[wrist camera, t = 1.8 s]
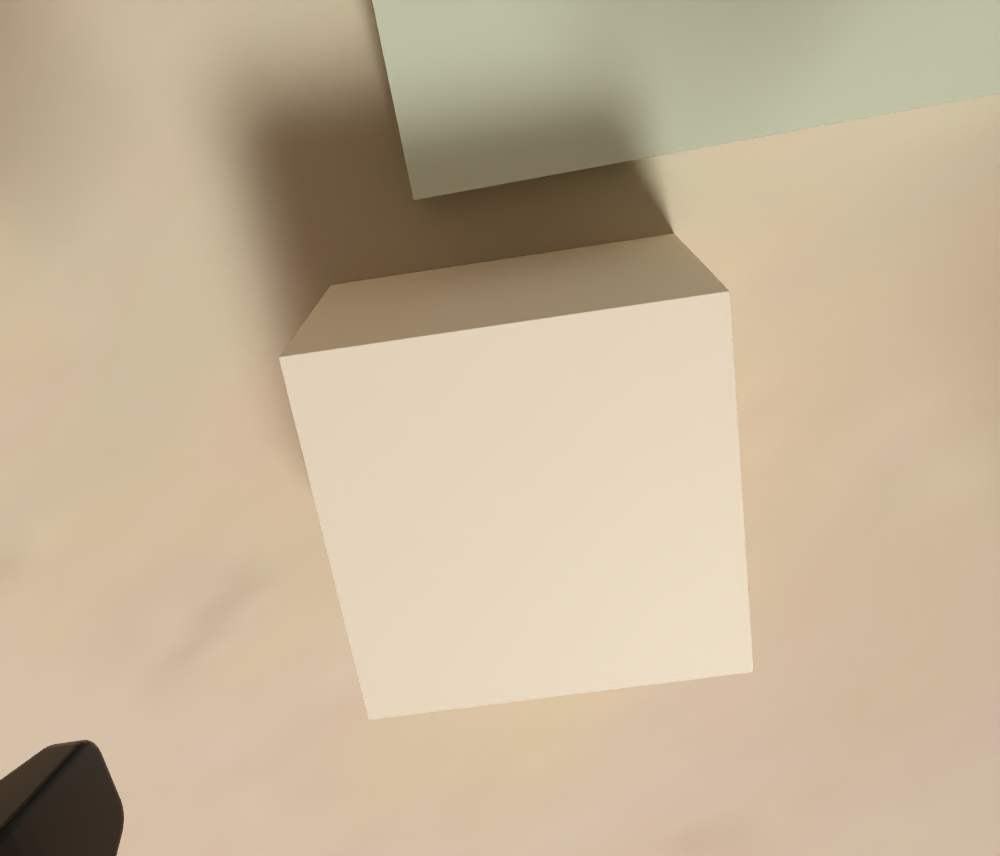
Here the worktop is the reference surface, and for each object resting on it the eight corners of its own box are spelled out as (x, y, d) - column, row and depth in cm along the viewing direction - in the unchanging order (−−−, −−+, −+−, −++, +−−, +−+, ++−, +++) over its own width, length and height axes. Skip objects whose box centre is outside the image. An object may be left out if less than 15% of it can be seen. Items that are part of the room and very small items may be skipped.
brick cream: (698, 536, 17) (752, 671, 13) (397, 575, 17) (368, 719, 14) (672, 231, 15) (729, 291, 11) (332, 283, 15) (279, 356, 12)
